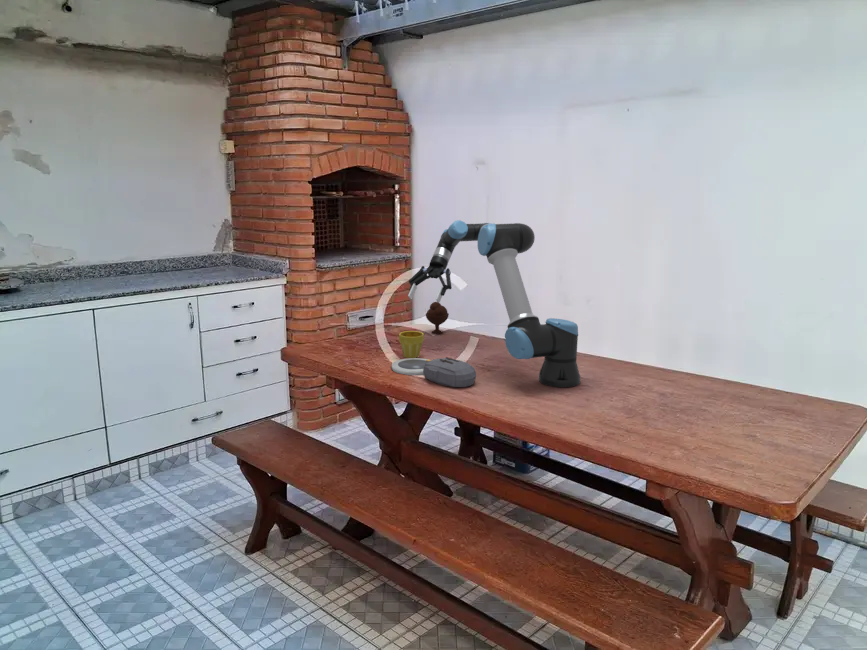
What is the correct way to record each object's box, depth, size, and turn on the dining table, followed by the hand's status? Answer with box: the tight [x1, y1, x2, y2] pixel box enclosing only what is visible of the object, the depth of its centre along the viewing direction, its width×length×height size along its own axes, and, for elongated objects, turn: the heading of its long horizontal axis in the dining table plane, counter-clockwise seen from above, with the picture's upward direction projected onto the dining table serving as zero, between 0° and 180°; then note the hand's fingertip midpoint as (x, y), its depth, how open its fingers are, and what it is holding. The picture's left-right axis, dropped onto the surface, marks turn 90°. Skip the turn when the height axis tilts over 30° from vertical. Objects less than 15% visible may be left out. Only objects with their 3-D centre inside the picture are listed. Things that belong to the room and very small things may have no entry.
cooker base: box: [391, 357, 432, 376], centre depth 258 cm, size 18×18×2 cm
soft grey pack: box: [423, 356, 477, 388], centre depth 242 cm, size 15×8×20 cm
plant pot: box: [398, 330, 425, 359], centre depth 274 cm, size 10×10×10 cm
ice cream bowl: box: [425, 301, 450, 335], centre depth 313 cm, size 11×11×15 cm
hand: (423, 299), depth 279 cm, fingers open, 13 cm apart
